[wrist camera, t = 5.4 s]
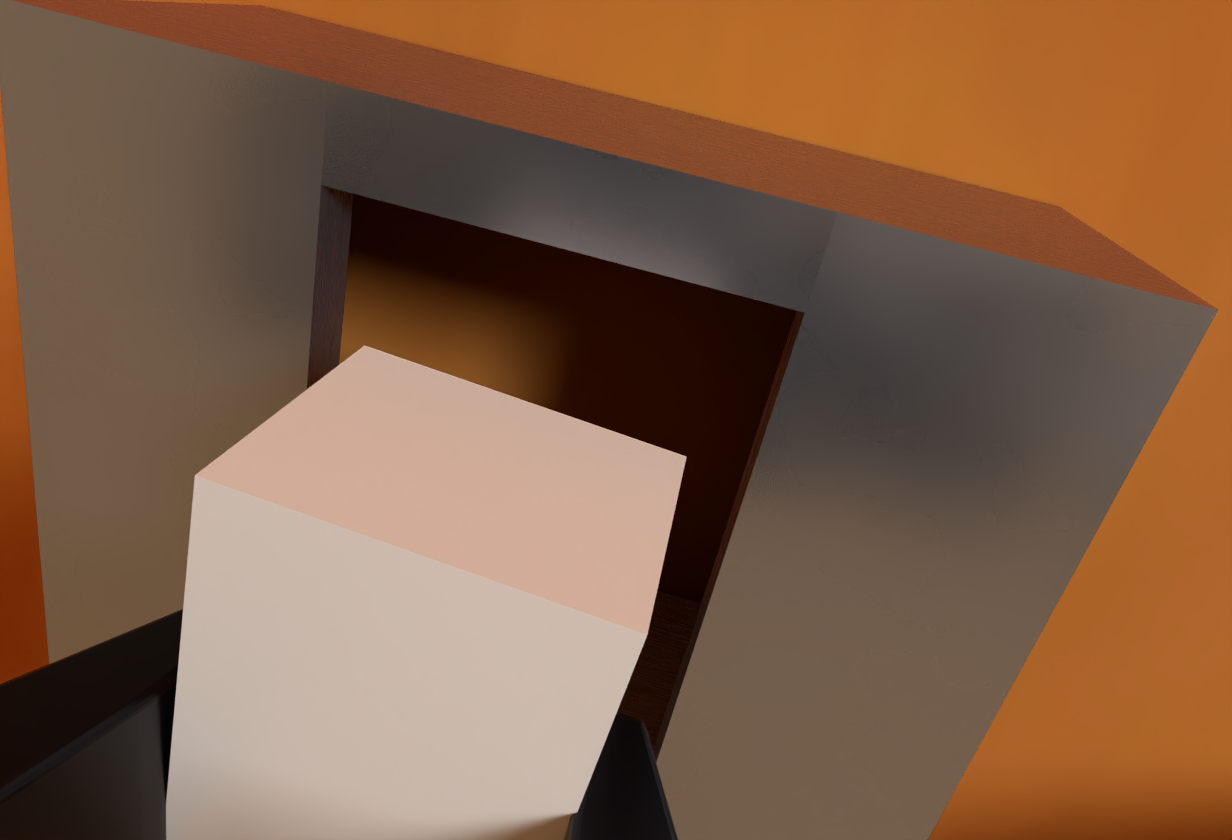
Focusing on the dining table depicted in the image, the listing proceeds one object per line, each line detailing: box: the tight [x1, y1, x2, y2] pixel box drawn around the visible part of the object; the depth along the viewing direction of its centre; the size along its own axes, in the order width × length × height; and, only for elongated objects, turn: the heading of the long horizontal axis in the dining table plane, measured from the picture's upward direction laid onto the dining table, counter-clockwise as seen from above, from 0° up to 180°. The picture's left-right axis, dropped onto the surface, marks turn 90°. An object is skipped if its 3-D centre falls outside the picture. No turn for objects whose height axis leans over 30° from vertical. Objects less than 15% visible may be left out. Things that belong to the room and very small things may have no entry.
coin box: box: [0, 0, 1218, 840], centre depth 12 cm, size 12×9×5 cm
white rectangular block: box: [166, 346, 687, 840], centre depth 8 cm, size 3×5×2 cm, turn 164°
